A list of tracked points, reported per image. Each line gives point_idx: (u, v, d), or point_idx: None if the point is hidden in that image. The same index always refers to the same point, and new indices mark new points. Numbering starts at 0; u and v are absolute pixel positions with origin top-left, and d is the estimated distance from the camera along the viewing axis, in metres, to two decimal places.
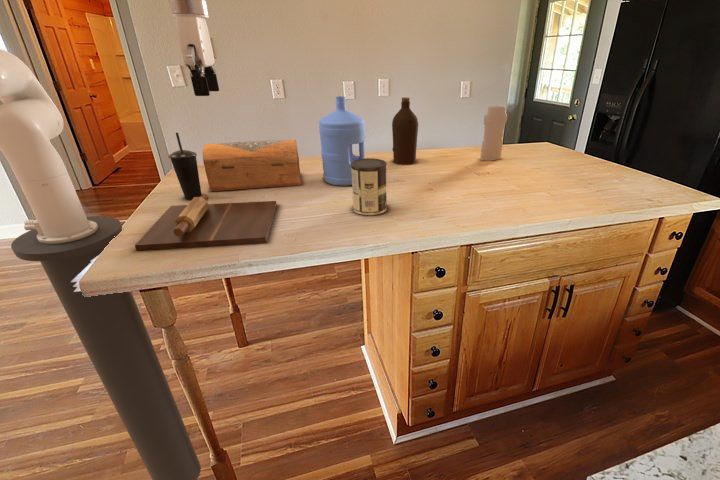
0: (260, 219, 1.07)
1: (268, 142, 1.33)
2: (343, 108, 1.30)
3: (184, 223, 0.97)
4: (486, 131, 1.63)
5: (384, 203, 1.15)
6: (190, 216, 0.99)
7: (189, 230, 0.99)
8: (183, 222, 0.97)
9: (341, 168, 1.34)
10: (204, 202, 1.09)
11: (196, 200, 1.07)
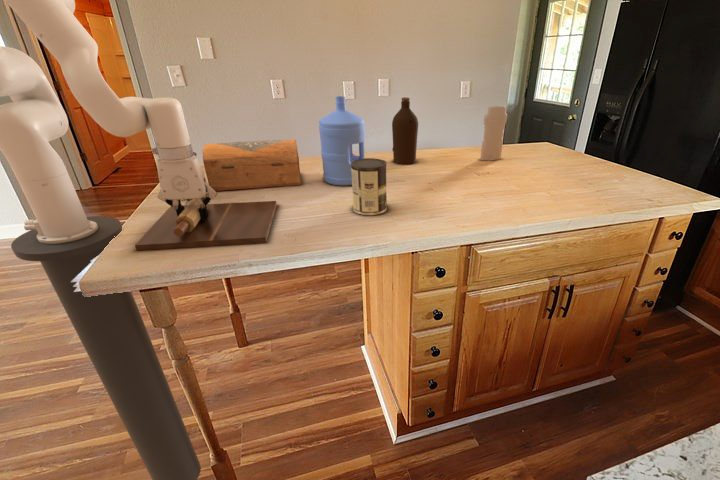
0: (260, 219, 1.07)
1: (268, 142, 1.33)
2: (343, 108, 1.30)
3: (184, 223, 0.97)
4: (486, 131, 1.63)
5: (384, 203, 1.15)
6: (190, 216, 0.99)
7: (189, 230, 0.99)
8: (183, 222, 0.97)
9: (341, 168, 1.34)
10: None
11: (196, 200, 1.07)
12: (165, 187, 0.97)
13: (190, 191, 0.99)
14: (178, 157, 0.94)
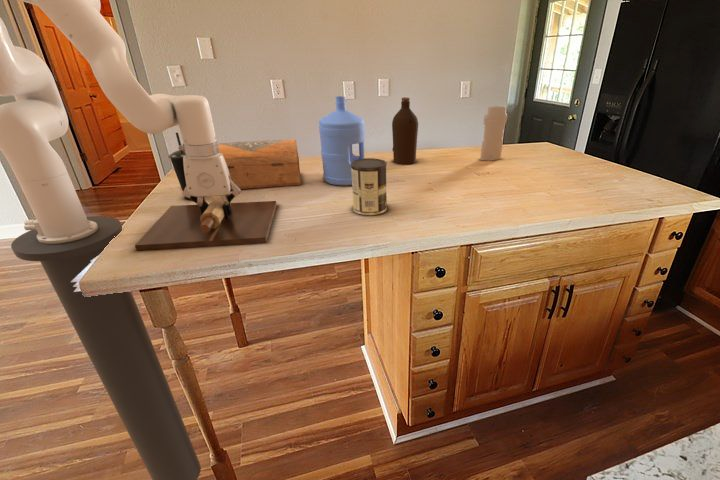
0: (260, 219, 1.07)
1: (268, 142, 1.33)
2: (343, 108, 1.30)
3: (210, 220, 0.97)
4: (486, 131, 1.63)
5: (384, 203, 1.15)
6: (215, 213, 0.99)
7: (214, 227, 1.00)
8: (209, 219, 0.97)
9: (341, 168, 1.34)
10: None
11: (219, 197, 1.07)
12: (191, 183, 0.98)
13: (215, 188, 0.99)
14: (205, 154, 0.94)
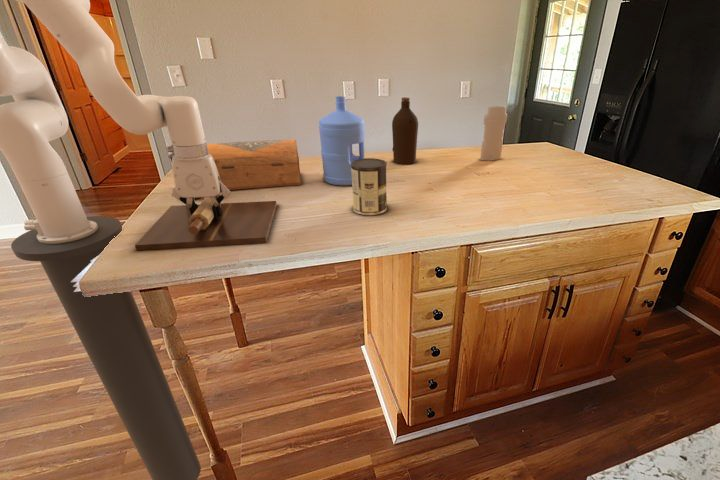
0: (260, 219, 1.07)
1: (268, 142, 1.33)
2: (343, 108, 1.30)
3: (199, 221, 0.97)
4: (486, 131, 1.63)
5: (384, 203, 1.15)
6: (204, 214, 0.99)
7: (203, 228, 1.00)
8: (198, 220, 0.97)
9: (341, 168, 1.34)
10: None
11: (209, 198, 1.07)
12: (180, 184, 0.98)
13: (204, 189, 0.99)
14: (194, 155, 0.94)
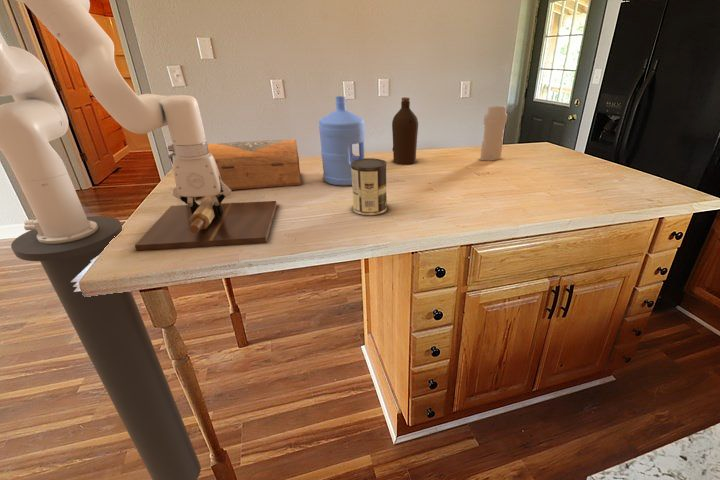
0: (260, 219, 1.07)
1: (268, 142, 1.33)
2: (343, 108, 1.30)
3: (199, 220, 0.97)
4: (486, 131, 1.63)
5: (384, 203, 1.15)
6: (205, 213, 0.99)
7: (204, 227, 1.00)
8: (198, 219, 0.97)
9: (341, 168, 1.34)
10: None
11: (210, 197, 1.07)
12: (180, 184, 0.98)
13: (205, 188, 0.99)
14: (194, 154, 0.94)
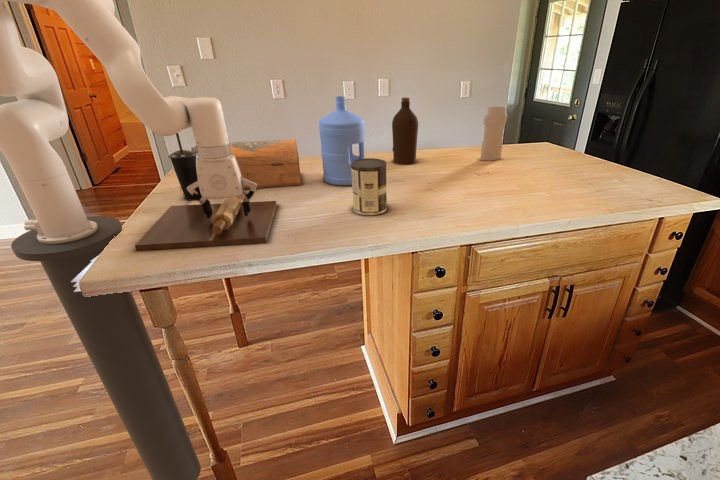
0: (260, 219, 1.07)
1: (268, 142, 1.33)
2: (343, 108, 1.30)
3: (222, 221, 0.98)
4: (486, 131, 1.63)
5: (384, 203, 1.15)
6: (227, 214, 1.00)
7: (226, 228, 1.01)
8: (221, 220, 0.98)
9: (341, 168, 1.34)
10: (237, 200, 1.10)
11: (230, 198, 1.08)
12: (203, 185, 0.99)
13: (227, 189, 1.00)
14: (218, 156, 0.95)
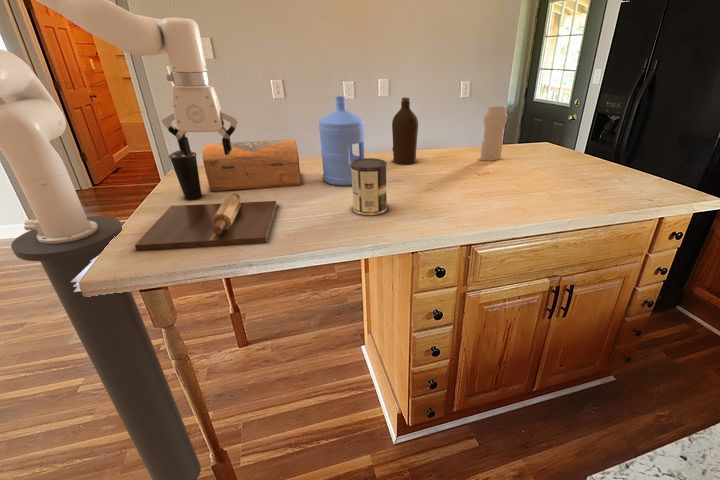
0: (260, 219, 1.07)
1: (268, 142, 1.33)
2: (343, 108, 1.30)
3: (222, 221, 0.98)
4: (486, 131, 1.63)
5: (384, 203, 1.15)
6: (227, 214, 1.00)
7: (226, 228, 1.01)
8: (221, 220, 0.98)
9: (341, 168, 1.34)
10: (237, 200, 1.10)
11: (230, 198, 1.08)
12: (179, 116, 0.93)
13: (205, 123, 0.94)
14: (194, 83, 0.89)
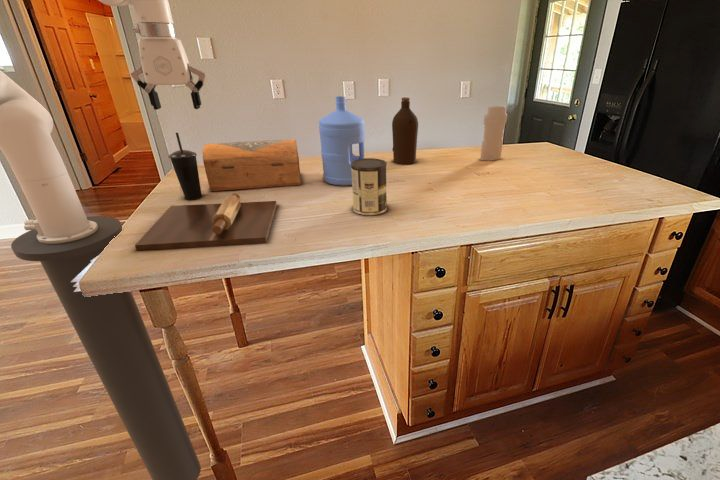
0: (260, 219, 1.07)
1: (268, 142, 1.33)
2: (343, 108, 1.30)
3: (222, 221, 0.98)
4: (486, 131, 1.63)
5: (384, 203, 1.15)
6: (227, 214, 1.00)
7: (226, 228, 1.01)
8: (221, 220, 0.98)
9: (341, 168, 1.34)
10: (237, 200, 1.10)
11: (230, 198, 1.08)
12: (147, 69, 0.95)
13: (173, 75, 0.96)
14: (160, 34, 0.91)
